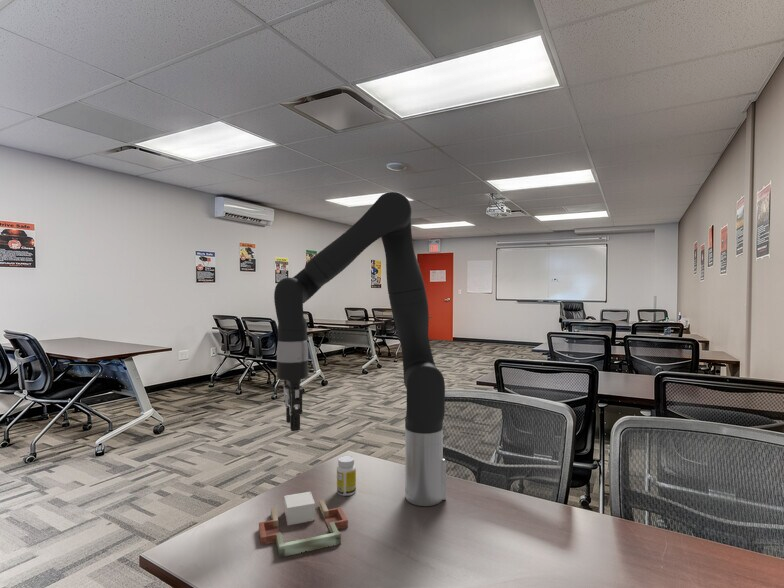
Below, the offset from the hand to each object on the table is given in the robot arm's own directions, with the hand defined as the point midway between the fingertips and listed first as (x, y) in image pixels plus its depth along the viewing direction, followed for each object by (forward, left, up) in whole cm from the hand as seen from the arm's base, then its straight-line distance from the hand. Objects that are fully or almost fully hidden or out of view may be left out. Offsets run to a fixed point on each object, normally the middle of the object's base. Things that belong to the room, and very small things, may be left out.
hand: (292, 426), depth 106 cm
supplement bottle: (-13, +2, -18) cm, 22 cm away
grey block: (0, +9, -18) cm, 20 cm away
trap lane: (0, +15, -18) cm, 23 cm away
